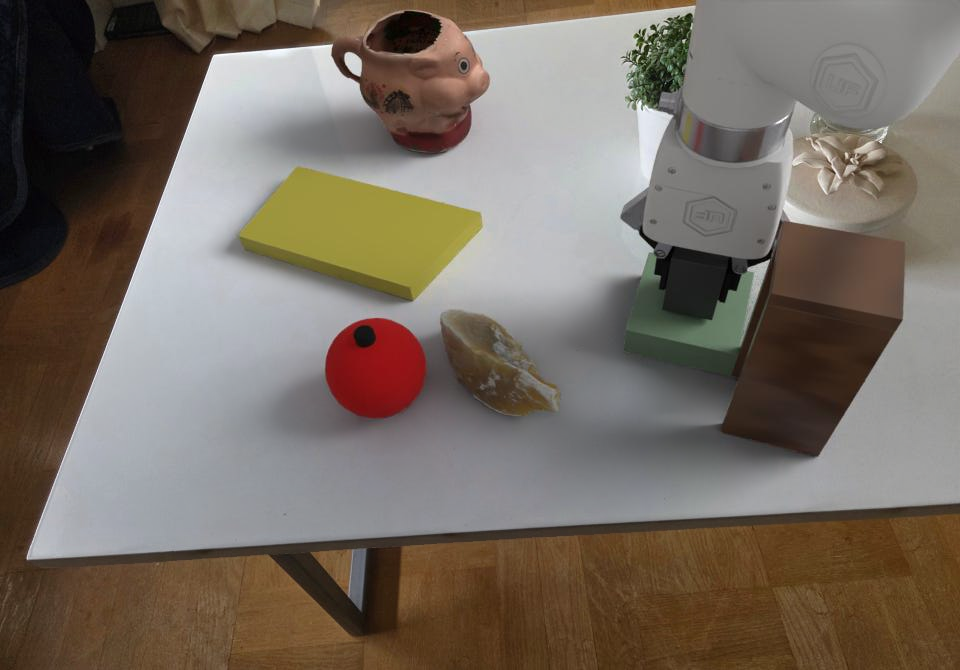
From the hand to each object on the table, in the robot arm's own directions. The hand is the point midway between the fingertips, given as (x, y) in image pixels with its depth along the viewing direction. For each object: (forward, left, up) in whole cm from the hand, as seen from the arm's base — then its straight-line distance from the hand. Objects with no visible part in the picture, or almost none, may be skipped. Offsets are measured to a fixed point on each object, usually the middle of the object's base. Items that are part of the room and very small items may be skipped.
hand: (694, 283), depth 66 cm
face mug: (+37, -21, -6) cm, 43 cm away
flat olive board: (+36, -2, -6) cm, 36 cm away
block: (0, 0, -2) cm, 2 cm away
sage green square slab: (0, 0, -6) cm, 6 cm away
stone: (+15, +11, -6) cm, 20 cm away
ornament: (+25, +16, -6) cm, 30 cm away
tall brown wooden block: (-9, +8, -6) cm, 13 cm away
